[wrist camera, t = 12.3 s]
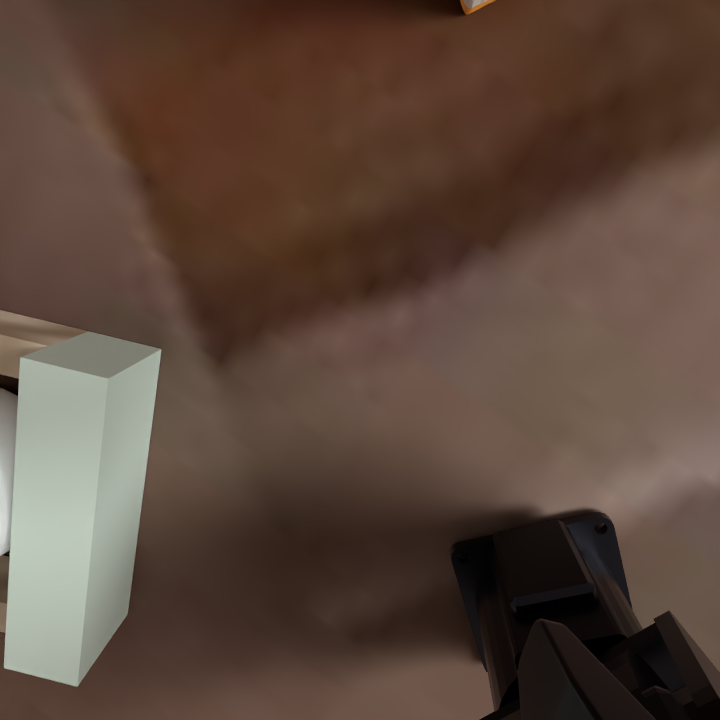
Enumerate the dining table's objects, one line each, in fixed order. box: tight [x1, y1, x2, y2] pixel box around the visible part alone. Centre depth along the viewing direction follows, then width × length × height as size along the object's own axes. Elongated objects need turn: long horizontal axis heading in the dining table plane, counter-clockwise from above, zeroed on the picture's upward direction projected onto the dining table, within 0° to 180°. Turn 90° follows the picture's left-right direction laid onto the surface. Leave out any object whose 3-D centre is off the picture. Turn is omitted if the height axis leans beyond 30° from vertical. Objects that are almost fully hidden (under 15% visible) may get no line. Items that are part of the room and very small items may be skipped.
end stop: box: [4, 332, 162, 687], centre depth 21 cm, size 3×13×4 cm, turn 167°
